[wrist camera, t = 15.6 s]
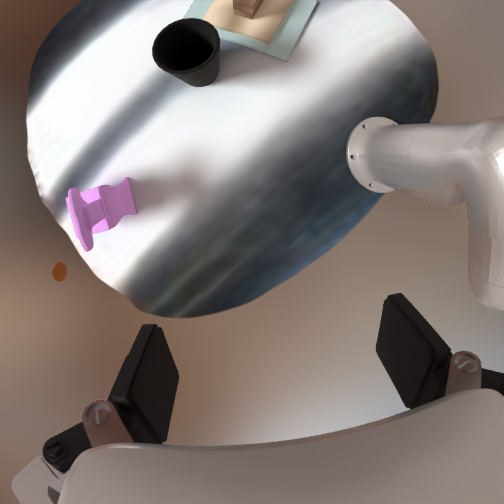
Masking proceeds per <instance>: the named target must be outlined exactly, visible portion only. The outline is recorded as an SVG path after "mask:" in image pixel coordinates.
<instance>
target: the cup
mask: <svg viewBox="0 0 504 504" xmlns="http://www.w3.org/2000/svg"><path fill="white" fill-rule="evenodd" d="M219 54H220V37H219V34H218V31H217V30H216V28H215V27H214V26H213V25H212V24H210V23H209V22H207V21H205V20H202V19H198V18H185V19H181V20H177V21H175V22H173V23H171V24H169V25H168V26H166V27H165V28H164V29H163V30H162V31H161V32H160V33H159V34H158V35H157V37H156V39H155V41H154V44H153V47H152V55H153V58H154V61H155V63H156V64H157V65H158V66H159V67H160V68H161V69H163V70H164V71H166V72H168V73H170V74H171V75H173V76H175V77H177V78H179V79H180V80H182V81H184V82H186V83H187V84H189V85H191V86H195V87H203V86H207V85H209V84H210V83H212V82H213V81H214V80H215V79H216V78H217V76H218V73H219Z"/></svg>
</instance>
